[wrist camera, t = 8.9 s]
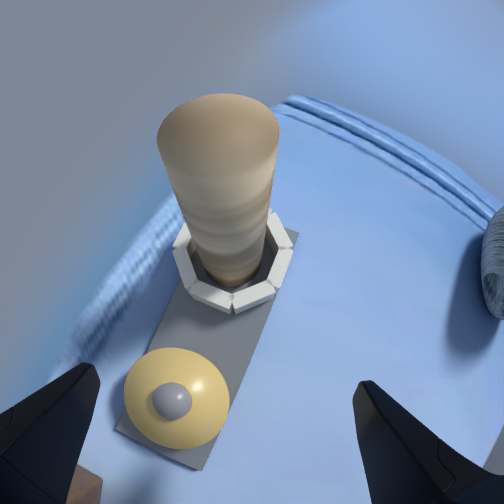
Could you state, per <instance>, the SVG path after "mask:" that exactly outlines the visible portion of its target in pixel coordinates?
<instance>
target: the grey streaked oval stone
mask: <svg viewBox="0 0 504 504" xmlns="http://www.w3.org/2000/svg"><path fill="white" fill-rule="evenodd" d="M481 281H482V288H483V294H484V300H485V303H486V305H487V308H488V310H489V311H490V313H491V314H492V315H493V316H494V317H496V318H498V319H501V320H504V206H503V207H502V208H501V209H499V210H498V211H497V212H496V213H495V214H494V216H493V217H492V219H491V220H490V221H489V223H488V226H487V228H486V230H485V233H484V237H483V242H482V253H481Z"/></svg>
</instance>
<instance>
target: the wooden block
mask: <svg viewBox="0 0 504 504" xmlns="http://www.w3.org/2000/svg"><path fill="white" fill-rule="evenodd" d="M102 482H103V481H102V479H101V478H100V477H98V476H97V475H95V474H93V473H91V472H89V471H88V470H86V469H84V468H82V467H81V466H79V465H76V469H75V472H74V475H73V479H72V482H71V486H70V490H69V493H68V497H67V501H66V504H99V503H100V496H101V489H102Z"/></svg>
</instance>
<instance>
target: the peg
mask: <svg viewBox="0 0 504 504" xmlns="http://www.w3.org/2000/svg"><path fill="white" fill-rule="evenodd" d="M278 139H279V124H278V121H277V119H276V117H275V115H274V114H273V113H272V112H271V110H270V109H269V108H267V107H266V106H265V105H263V104H262V103H260V102H258V101H256V100H254V99H252V98H249V97H246V96H242V95H236V94H211V95H206V96H202V97H198V98H195V99H192V100H190V101H188V102H186V103H184V104H182V105H180V106H179V107H177V108H176V109H174V110H173V111H172V112H171V113H170V114H169V115H168V116H167V117H166V118H165V119H164V121H163V122H162V124H161V126H160V128H159V131H158V135H157V145H158V149H159V152H160V155H161V158H162V160H163V163H164V166H165V169H166V172H167V174H168V177H169V180H170V182H171V185H172V188H173V191H174V193H175V196H176V199H177V201H178V204H179V206H180V209H181V212H182V214H183V217H184V219H185V222H186V224H187V227H188V230H189V232H190V235H191V237H192V240H193V242H194V244H195V247H196V249H197V252H198V254H199V257H200V259H201V262H202V264H203V266H204V269H205V271H206V273H207V274H208V276H209V277H210V278H211V279H212V280H213V281H214V282H216V283H218V284H220V285H223V286H227V287H237V286H241V285H244V284H246V283H248V282H249V281H251V280H252V279H253V278H254V277H255V276H256V274H257V273H258V271H259V268H260V265H261V259H262V252H263V245H264V239H265V232H266V225H267V218H268V211H269V204H270V197H271V190H272V183H273V176H274V168H275V161H276V154H277V147H278Z"/></svg>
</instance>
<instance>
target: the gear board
mask: <svg viewBox="0 0 504 504" xmlns="http://www.w3.org/2000/svg"><path fill="white" fill-rule="evenodd" d="M271 210H272V209H270V208H269V211H268V218H267V225H266V232H265V239H264V245H263V252H262V259H261V265H260V268H259V271H258V273H257V274H256V276H255V277H254V278H253V279H252V280H251V281H249V282H248V283H246V284H244V285H241V286H237V287H227V286H223V285H220V284H218V283H216V282H214V281H213V280H212V279H211V278H210V277H209V276H208V274H207V273H206V271H205V269H204V266H203V264H202V262H201V259H200V257H199V254H198V252H197V249H196V247H195V244H194V242H193V240H192V237H191V235H190V232H189V230H188V227H187V224H186V222H185V223H184V225H183V227H182V229H181V231H180V233H179V234H178V236H177V238H176V240H175V242H174V244H173V248H174V250H173V251H172V252H173V255H174V258H175V261H176V264H177V267H178V270H179V273H180V276H181V279H180V281H179V283H178V285H177V287H176V289H175V291H174V294H173V296H172V298H171V300H170V302H169V304H168V306H167V309H166V311H165V313H164V315H163V317H162V319H161V322H160V324H159V326H158V328H157V330H156V333H155V335H154V337H153V339H152V342H151V344H150V346H149V349H148V351H147V353H146V354H145V355H143V356H142V357H141V358H140V359H138V360H137V361H136V362H135V363H134V365H133V366H132V367H131V369H130V370H129V372H128V374H127V377H126V380H125V384H124V402H125V406H124V409H123V412H122V414H121V417H120V419H119V422H118V425H117V427H116V429H117V430H119V431H120V432H122V433H124V434H125V435H127V436H129V437H131V438H132V439H134V440H136V441H138V442H140V443H141V444H143V445H145V446H147V447H149V448H151V449H153V450H155V451H157V452H159V453H161V454H163V455H165V456H167V457H169V458H171V459H174V460H176V461H178V462H180V463H183V464H185V465H187V466H190V467H192V468H195V469H197V470H200V471H202V469H203V467H204V465H205V463H206V461H207V459H208V457H209V454H210V452H211V450H212V448H213V446H214V444H215V441H216V439H217V437H218V435H219V432H220V430H221V429H222V427H223V425H224V423H225V421H226V418H227V415H228V412H229V410H230V408H231V405H232V403H233V401H234V398H235V396H236V394H237V391H238V389H239V387H240V384H241V382H242V379H243V377H244V375H245V372H246V370H247V367H248V365H249V363H250V360H251V358H252V355H253V353H254V350H255V348H256V345H257V343H258V340H259V338H260V335H261V333H262V330H263V328H264V325H265V323H266V320H267V318H268V315H269V313H270V310H271V307H272V305H273V302H274V300H275V297H276V295H277V293H278V291H279V289H280V286H281V284H282V281H283V278H284V276H285V273H286V270H287V267H288V265H289V262H290V259H291V256H292V254H293V248H294V246H295V243H296V240H297V237H298V234H299V233H298V232H295V231H292V230H290V229H287V228H284V227H283V225H282V223H281V222H280V220H279V218H278V216H277V214H276V212H275V213H272V214H271Z"/></svg>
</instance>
